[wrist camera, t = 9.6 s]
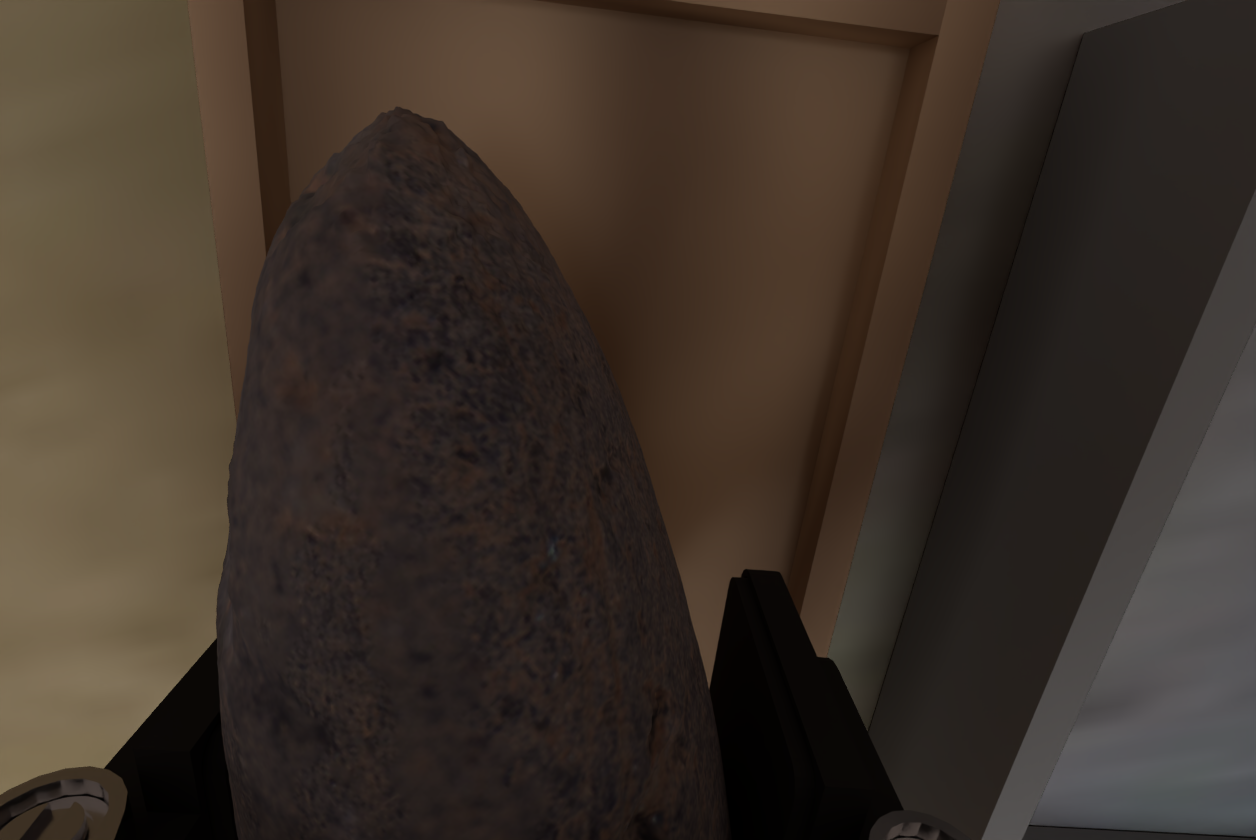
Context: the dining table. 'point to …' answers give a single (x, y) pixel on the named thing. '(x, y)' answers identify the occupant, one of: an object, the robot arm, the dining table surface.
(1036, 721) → the charcoal bin
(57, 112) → the dining table surface
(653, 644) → the perforated stone tool
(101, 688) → the dining table surface
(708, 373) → the walnut tray
